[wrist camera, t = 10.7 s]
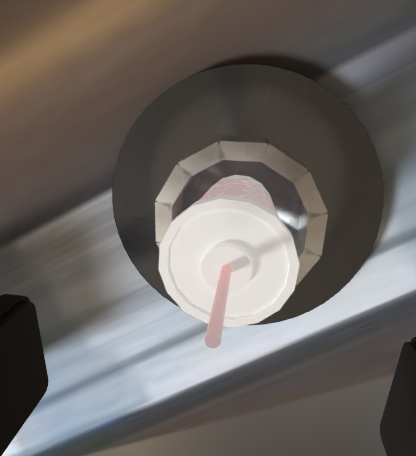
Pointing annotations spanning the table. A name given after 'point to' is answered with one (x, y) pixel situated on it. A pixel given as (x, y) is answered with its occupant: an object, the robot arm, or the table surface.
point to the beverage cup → (229, 257)
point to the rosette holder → (254, 171)
